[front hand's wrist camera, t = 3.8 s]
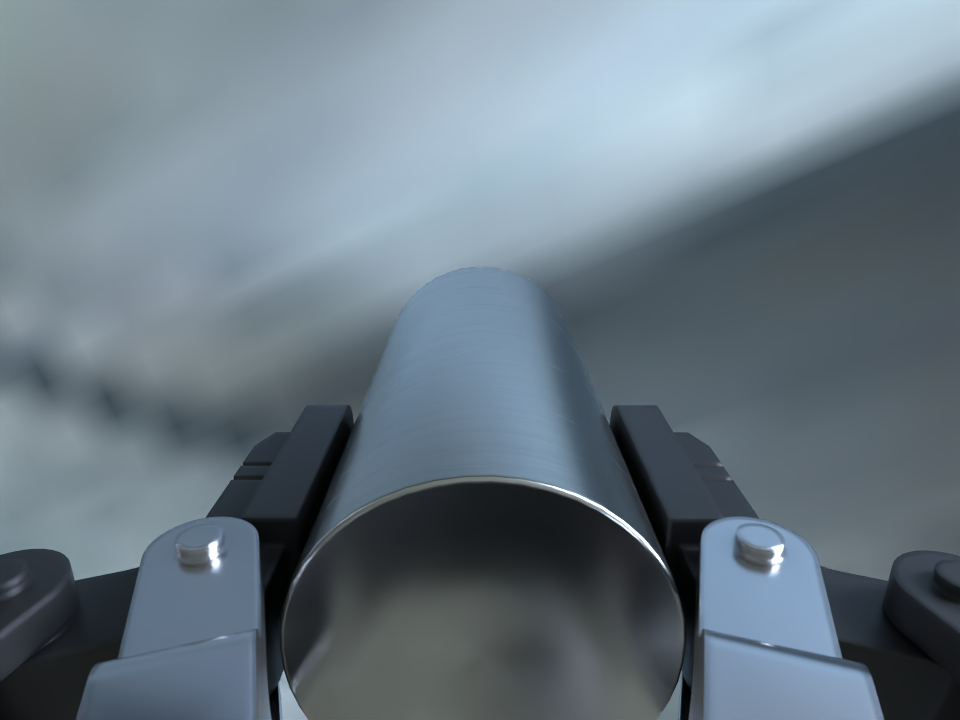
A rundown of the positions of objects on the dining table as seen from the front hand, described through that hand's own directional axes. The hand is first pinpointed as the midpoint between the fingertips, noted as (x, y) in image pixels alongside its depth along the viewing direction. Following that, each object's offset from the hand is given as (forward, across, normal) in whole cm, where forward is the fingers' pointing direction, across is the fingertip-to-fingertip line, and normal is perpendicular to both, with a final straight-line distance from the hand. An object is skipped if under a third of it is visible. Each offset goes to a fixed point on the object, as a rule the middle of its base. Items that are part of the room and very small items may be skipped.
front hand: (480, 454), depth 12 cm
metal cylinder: (+5, 0, 0) cm, 5 cm away
